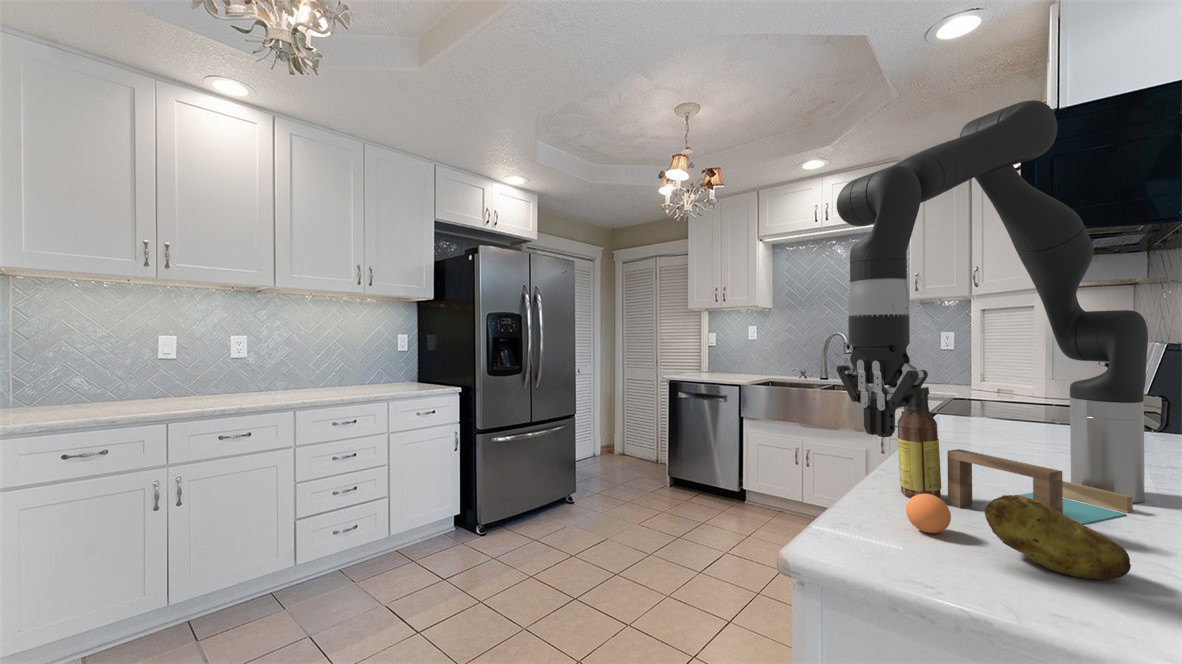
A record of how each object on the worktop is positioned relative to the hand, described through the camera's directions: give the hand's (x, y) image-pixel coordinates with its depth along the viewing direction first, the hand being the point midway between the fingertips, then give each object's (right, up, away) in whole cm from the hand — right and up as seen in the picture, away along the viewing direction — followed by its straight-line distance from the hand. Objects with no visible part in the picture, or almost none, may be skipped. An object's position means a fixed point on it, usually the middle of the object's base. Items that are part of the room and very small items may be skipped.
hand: (879, 434), depth 70 cm
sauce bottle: (+18, -15, +19) cm, 30 cm away
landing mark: (+37, -15, +13) cm, 42 cm away
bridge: (+24, -15, +8) cm, 30 cm away
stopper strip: (+45, -15, +16) cm, 50 cm away
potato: (+17, -15, -8) cm, 24 cm away
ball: (+9, -12, +3) cm, 16 cm away
